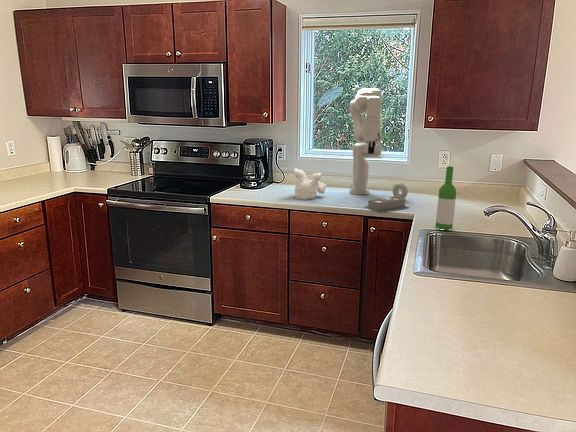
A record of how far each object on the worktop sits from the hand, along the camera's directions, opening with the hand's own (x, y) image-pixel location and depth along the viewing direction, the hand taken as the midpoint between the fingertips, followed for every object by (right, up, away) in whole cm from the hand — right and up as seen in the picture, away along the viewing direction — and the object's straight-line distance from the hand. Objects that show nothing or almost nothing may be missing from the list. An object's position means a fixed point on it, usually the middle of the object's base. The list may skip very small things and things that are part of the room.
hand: (371, 153), depth 269 cm
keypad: (+9, -30, +1) cm, 31 cm away
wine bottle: (+28, -41, -39) cm, 63 cm away
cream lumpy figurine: (-33, -23, +25) cm, 48 cm away
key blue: (+9, -28, 0) cm, 29 cm away
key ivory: (+3, -30, -3) cm, 30 cm away
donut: (+21, -25, +21) cm, 39 cm away
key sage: (+14, -28, +4) cm, 32 cm away
